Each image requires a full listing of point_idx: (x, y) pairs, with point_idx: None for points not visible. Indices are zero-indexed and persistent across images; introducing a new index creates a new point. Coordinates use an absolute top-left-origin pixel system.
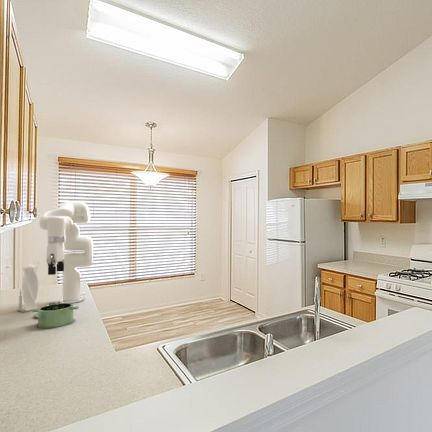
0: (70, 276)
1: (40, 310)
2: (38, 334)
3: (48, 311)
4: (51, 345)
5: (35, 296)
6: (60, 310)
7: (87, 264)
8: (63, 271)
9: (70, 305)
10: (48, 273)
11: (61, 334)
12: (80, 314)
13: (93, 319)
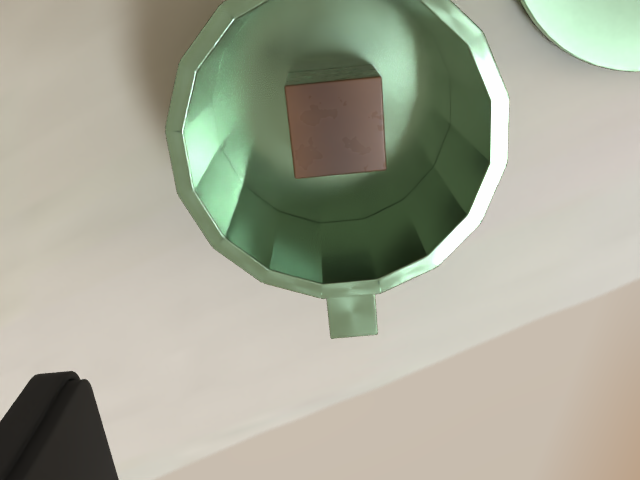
0: None
1: (197, 44)
2: (49, 117)
3: (170, 150)
4: None
5: None
6: (215, 246)
7: None
8: None
9: (432, 241)
10: (22, 403)
11: (50, 286)
12: (567, 201)
13: (382, 358)
